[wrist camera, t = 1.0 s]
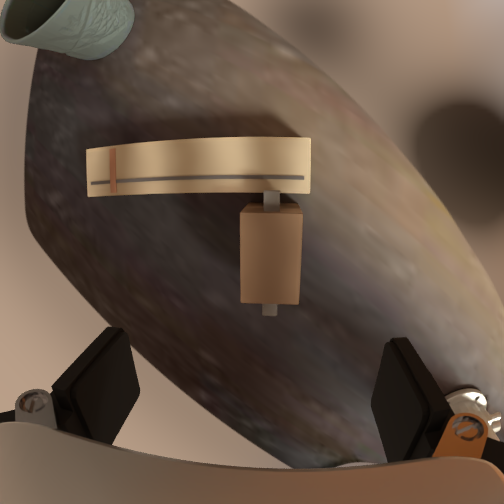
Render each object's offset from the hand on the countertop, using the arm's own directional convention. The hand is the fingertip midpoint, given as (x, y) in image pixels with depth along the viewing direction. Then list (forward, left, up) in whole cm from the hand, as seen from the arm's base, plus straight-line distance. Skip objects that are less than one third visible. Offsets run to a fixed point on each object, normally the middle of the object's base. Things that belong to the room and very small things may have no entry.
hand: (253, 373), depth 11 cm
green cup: (+19, -24, -21) cm, 37 cm away
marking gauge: (0, 0, -21) cm, 21 cm away
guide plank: (+7, -7, -21) cm, 23 cm away
